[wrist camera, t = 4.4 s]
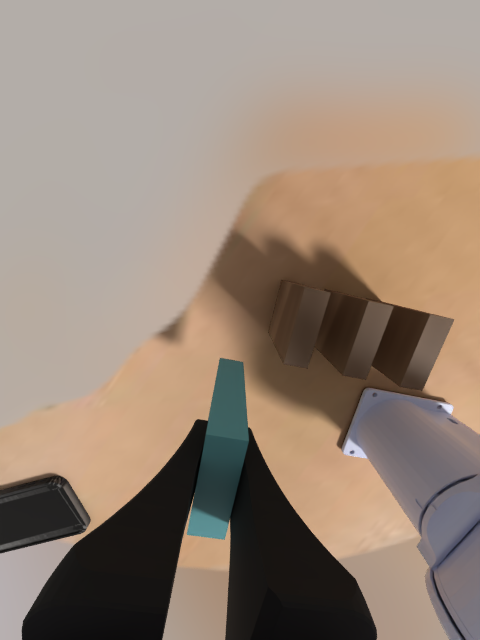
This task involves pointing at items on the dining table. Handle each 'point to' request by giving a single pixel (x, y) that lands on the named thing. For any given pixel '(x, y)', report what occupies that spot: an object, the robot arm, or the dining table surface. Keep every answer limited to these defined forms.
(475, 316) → the dining table surface
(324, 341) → the domino
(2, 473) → the dining table surface
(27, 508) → the phone
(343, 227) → the dining table surface
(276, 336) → the domino
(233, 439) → the domino teal placed
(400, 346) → the domino
